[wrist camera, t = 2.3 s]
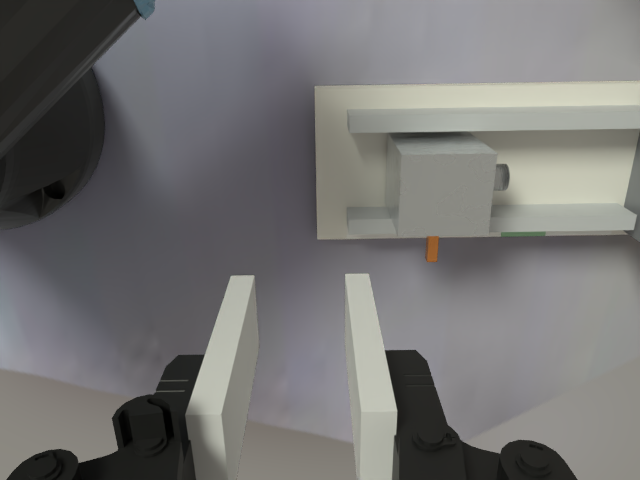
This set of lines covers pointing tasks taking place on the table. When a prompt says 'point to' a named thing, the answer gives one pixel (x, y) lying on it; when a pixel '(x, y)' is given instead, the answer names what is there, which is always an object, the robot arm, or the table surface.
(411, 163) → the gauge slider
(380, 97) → the base
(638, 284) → the table surface
